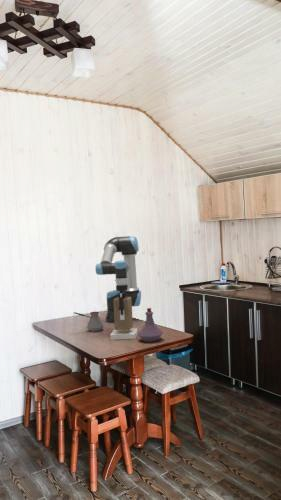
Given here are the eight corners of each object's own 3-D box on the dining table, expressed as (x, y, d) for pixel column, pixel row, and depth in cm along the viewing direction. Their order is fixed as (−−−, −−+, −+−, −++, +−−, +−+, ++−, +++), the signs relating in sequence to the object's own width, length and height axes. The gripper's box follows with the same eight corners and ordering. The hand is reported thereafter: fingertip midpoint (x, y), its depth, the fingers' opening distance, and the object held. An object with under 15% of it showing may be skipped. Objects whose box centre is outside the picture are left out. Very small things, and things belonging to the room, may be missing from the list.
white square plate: (114, 333, 295) (113, 329, 295) (137, 332, 293) (137, 328, 293) (110, 339, 279) (110, 335, 279) (135, 338, 277) (135, 334, 277)
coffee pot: (100, 327, 314) (98, 307, 313) (106, 330, 304) (104, 309, 303) (71, 332, 305) (70, 311, 304) (76, 335, 294) (75, 313, 294)
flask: (169, 339, 272) (167, 307, 271) (150, 345, 261) (149, 312, 260) (150, 335, 284) (148, 305, 283) (132, 341, 273) (130, 309, 272)
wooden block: (129, 330, 280) (128, 299, 279) (114, 330, 282) (113, 299, 281) (133, 326, 290) (131, 296, 289) (118, 326, 292) (116, 297, 291)
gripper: (118, 282, 296) (120, 314, 297) (113, 287, 273) (115, 321, 274) (129, 282, 296) (130, 314, 297) (125, 286, 273) (127, 321, 274)
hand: (123, 317), depth 285 cm, fingers closed on wooden block, 10 cm apart
